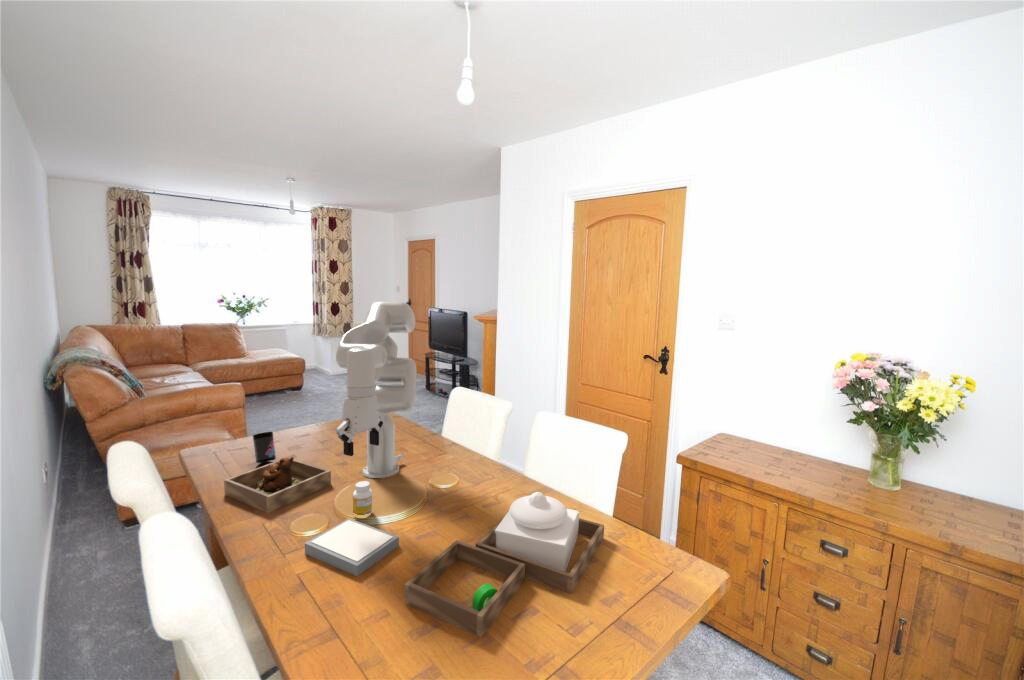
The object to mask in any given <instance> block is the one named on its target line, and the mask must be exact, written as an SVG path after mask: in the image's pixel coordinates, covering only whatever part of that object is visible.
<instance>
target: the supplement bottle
mask: <svg viewBox="0 0 1024 680" xmlns="http://www.w3.org/2000/svg"><path fill="white" fill-rule="evenodd" d="M372 510H373V490H372V489H371V484H370V482H369V481H367V480H363V481H358V482H356V483H355V490H354V491H353V493H352V514H353V513H355V514H357V515H365V514H369V513H371V512H372Z"/></svg>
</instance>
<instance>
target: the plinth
mask: <svg viewBox="0 0 1024 680" xmlns="http://www.w3.org/2000/svg"><path fill="white" fill-rule="evenodd" d="M398 547H400V536H398V535H396V534H393V533H391V532H388V531H384V530H382V529H379V528H376V527H373V526H371V525H368V524H366V523H364V522H360V521H357V520H355V519H353V518H350V517H349V518H347V519H345V520H343V521H341V522H340V523H338V524H336V525H334V526H332V527H331V528H329V529H327V530H325V531H324V532H322V533H320V534H318V535H317V536H315V537H312V538H311V539H309V540H307V541H306V542H304V554H305V555H307V556H310V557H312V558H314V559H317V560H318V561H321V562H323V563H325V564H327V565H330V566H332V567H334V568H337V569H340V570H342V571H344V572H346V573H348V574H351V575H353V576H355V577H359V576H360V575H362V574H363V573H364V572H366V571H367V570H368V569H369V568H371V567H372V566H374V565H375V564H376V563H378V562H379V561H381V560H382V559H383V558H384V557H386V556H387V555H388V554H390V553H391V552H392V551H394V550H396V549H397V548H398Z"/></svg>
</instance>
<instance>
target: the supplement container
mask: <svg viewBox="0 0 1024 680" xmlns="http://www.w3.org/2000/svg"><path fill="white" fill-rule="evenodd" d="M252 442H253V450H254V457H255V463H256V464H257V465H260V464H266V463H270V462H273V461H274V462H275V461H276V459H277V455H276V446H275V438H274V432H273V431H265V432H261V433H257V434H256V433H255V434H253V435H252Z"/></svg>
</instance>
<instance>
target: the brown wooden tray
mask: <svg viewBox="0 0 1024 680" xmlns="http://www.w3.org/2000/svg"><path fill="white" fill-rule="evenodd" d="M286 458H289V456H288V457H286ZM279 461H280V459H278V460H275V461H274V462H273V461H272V462H271V465H272V464H279ZM291 468H292V471H291V475H296V476H298V477H301V478H304V480H302V481H300V482H299V483H297V484H294V485H292V486H290V487H287V488H285V489H282V490H280V491H278V492H275V493H273V494H271V495H269V494H266V493H263V492H261V491H258V490H256V488H253V486H257V485H256V484H257V483H258V482H259V481H262V480H263V474H264V472H265V471H267V470H268V471H270V467H269V463H267V464H265V465H263V466H260V467H256V468H253V469H251V470H247V471H245V472H242V473H239V474H237V475H234V476H231V477H229V478H226V479H224V480H223V486H224V487H223V488H224V496H226V497H228V498H230V499H233V500H236V501H238V502H240V503H243V504H246V505H248V506H250V507H253V508H255V509H258V510H260V511H263V512H265V513H267V514H271V513H272V512H275V511H276V510H279V509H281V508H283V507H285V506H288V505H289V504H292V503H294V502H296V501H299V500H300V499H302V498H304V497H306V496H309V495H311V494H313V493H316V492H317V491H319V490H321V489H324V488H325V487H328V486H331V484H332V475H331V473H332V471H331V470H330V469H326V468H324V467H320V466H318V465H317V466H316V465H313V464H310V463H309V462H308V463H307V462H303V461H300V460H298V459H295V458H294V459H293V461H292V465H291Z"/></svg>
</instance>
